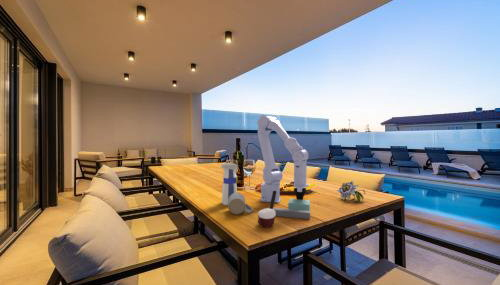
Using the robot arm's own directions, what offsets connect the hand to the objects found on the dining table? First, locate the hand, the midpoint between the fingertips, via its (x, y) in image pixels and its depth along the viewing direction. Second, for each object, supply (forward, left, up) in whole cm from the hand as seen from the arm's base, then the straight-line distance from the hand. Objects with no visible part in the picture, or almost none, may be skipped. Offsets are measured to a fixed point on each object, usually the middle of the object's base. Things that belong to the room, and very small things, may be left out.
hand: (299, 203), depth 105 cm
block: (0, -5, -2) cm, 5 cm away
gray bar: (-3, -14, -1) cm, 15 cm away
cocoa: (-11, -26, -2) cm, 29 cm away
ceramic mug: (-25, -15, -2) cm, 29 cm away
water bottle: (-34, -3, -2) cm, 34 cm away
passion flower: (+26, +21, -2) cm, 33 cm away
